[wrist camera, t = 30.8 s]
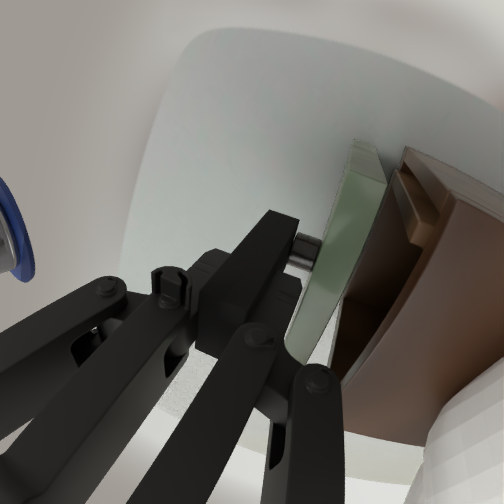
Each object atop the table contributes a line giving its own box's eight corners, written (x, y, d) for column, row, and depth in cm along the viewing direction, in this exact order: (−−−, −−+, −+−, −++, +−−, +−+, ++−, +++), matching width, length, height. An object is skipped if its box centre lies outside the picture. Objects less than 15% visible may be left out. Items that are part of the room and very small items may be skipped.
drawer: (285, 285, 20) (243, 374, 13) (331, 131, 14) (306, 156, 8) (462, 347, 17) (475, 435, 10) (537, 230, 11) (598, 305, 5)
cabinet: (340, 304, 20) (313, 422, 12) (405, 145, 14) (457, 198, 6) (488, 354, 17) (505, 453, 9) (564, 238, 11) (630, 324, 3)
